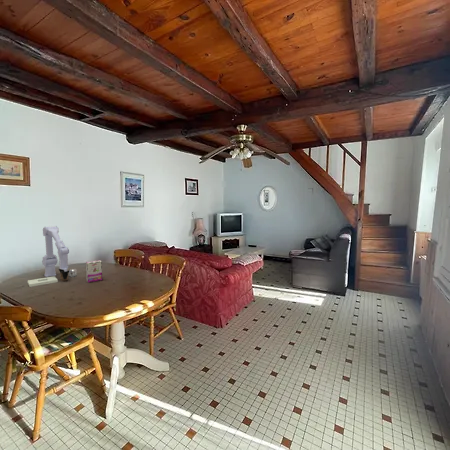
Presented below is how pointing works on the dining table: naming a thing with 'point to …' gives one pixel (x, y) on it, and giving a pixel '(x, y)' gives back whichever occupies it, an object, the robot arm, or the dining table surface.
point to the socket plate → (42, 281)
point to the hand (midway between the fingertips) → (64, 278)
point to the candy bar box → (94, 271)
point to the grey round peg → (72, 272)
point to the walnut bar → (62, 277)
